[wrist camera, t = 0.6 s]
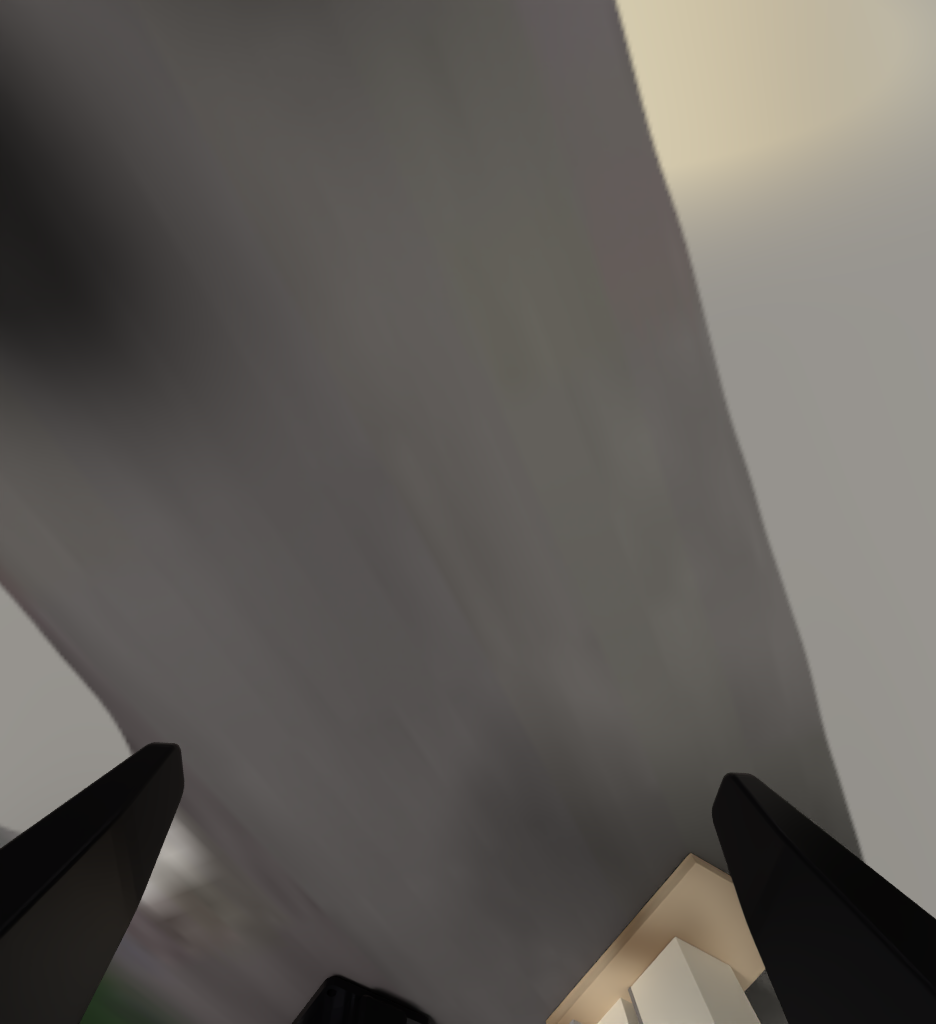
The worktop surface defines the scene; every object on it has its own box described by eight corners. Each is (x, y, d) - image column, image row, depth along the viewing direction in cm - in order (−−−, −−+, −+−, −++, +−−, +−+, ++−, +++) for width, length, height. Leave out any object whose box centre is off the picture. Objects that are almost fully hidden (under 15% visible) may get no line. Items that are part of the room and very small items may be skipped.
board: (654, 1071, 30) (658, 1084, 30) (545, 1020, 29) (548, 1033, 28) (797, 914, 28) (805, 925, 28) (690, 852, 27) (696, 862, 26)
